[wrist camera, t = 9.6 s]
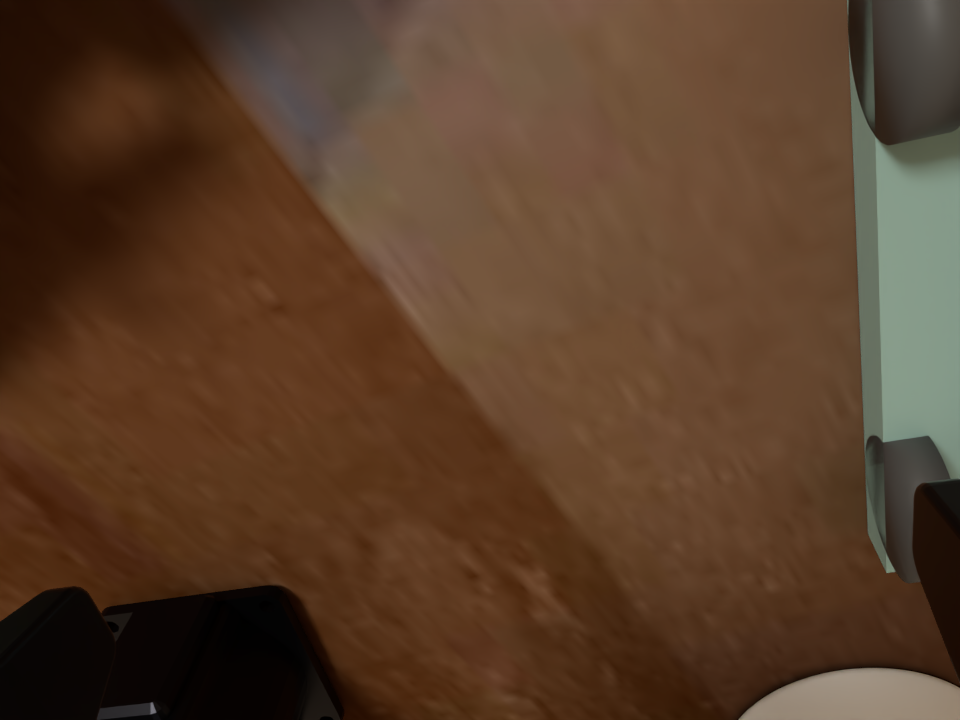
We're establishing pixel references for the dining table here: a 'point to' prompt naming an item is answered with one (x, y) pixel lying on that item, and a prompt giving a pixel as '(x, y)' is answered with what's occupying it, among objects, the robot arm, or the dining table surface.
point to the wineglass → (861, 697)
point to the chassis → (906, 255)
